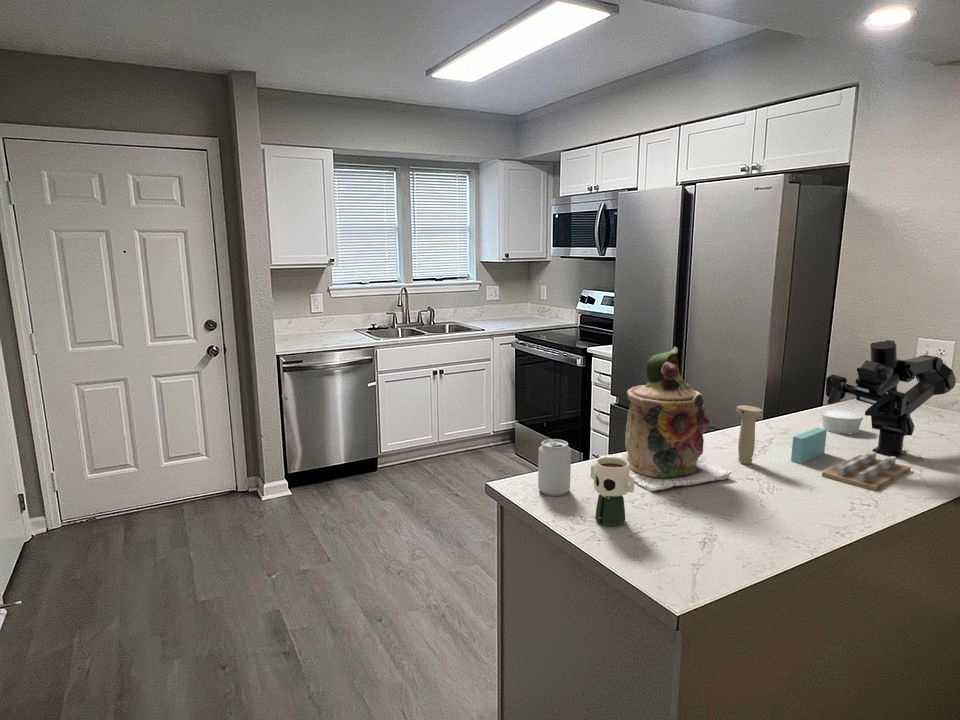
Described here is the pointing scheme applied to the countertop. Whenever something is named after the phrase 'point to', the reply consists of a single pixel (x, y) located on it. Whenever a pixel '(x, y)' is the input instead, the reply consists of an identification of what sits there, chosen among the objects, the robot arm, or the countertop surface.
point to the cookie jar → (667, 430)
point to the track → (867, 471)
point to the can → (554, 467)
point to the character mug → (611, 488)
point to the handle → (747, 432)
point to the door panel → (808, 445)
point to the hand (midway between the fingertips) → (846, 407)
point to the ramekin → (841, 421)
